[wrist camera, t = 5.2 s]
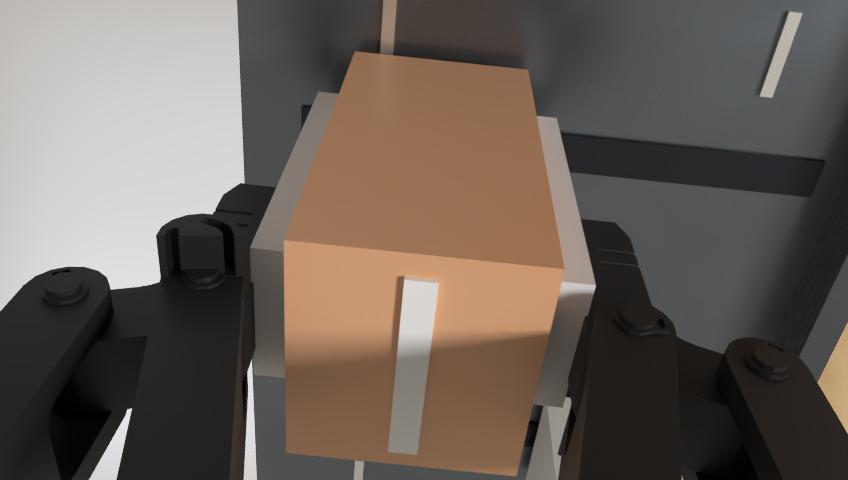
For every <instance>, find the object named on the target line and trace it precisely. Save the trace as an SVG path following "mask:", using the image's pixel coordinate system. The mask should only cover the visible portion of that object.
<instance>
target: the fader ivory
mask: <svg viewBox="0 0 848 480" xmlns="http://www.w3.org/2000/svg"><path fill="white" fill-rule="evenodd" d="M570 407H571V398H568V397H565V401H564V405H563V408H560V407H551V406H543V410H542V414H541V418H540V423H539V427H538V431H537V435H536V439H535V443H534V447H533V451H532V455H531V459H530V463H529V467H528V472H527V476H526V480H558V477H559V469H560V462H561V456H560V455H557V454H558V450H559V447H560V443H561V440H562V436H563V432H564V429H565V425H566V422H567V418H568V415H569V411H570ZM682 480H683V477H682Z"/></svg>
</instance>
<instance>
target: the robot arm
mask: <svg viewBox="0 0 848 480" xmlns="http://www.w3.org/2000/svg"><path fill="white" fill-rule="evenodd" d="M338 95H339V94H336V93H327V92H318V94H317V96H316V98H315V100H314V103H313V105H312V107H311V110H310V112H309V114H308V116H307V119H306V121H305V123H304V126H303V128H302V130H301V132H300V135H299V137H298V139H297V142H296V144H295V146H294V148H293V151H292V153H291V155H290V158H289V160H288V162H287V164H286V167H285V169H284V171H283V173H282V176H281V178H280V180H279V183H278V185H277V187H269V186H260V185H251V184H242V183H241V184H239V185H237V186H236V187H234V188H233V189H231V190H230V191H228V192H227V193H225V194H224V195H223V197H222V198H221V200H220V202H219V204H218V206H217V208H216V211H215V212H214V213H213V215H210V214H195V215H186V216H183V217H180V218H177V219H174V220H171V221H170V222H168V223H167V224H165V225H164V226H162V227H161V229H160V230H159V232H158V233H157V235H156V237H157V246H158V255H159V264H160V273H161V280H160V282H159V283H156V284H152V285H148V286H142V287H135V288H125V289H116V290H110V286H109V283H108V280H107V278H106V277H105V276H104V275H103V274H101V273H100V272H99V271H96V270H92V269H89V268H85V267H65V268H58V269H54V270H50V271H47V272H45V273H43V274H40V275H38V276H35V277H34V278H33V279H32V280H30V281H29V282H28V283H26V284H25V285H24V286H23V287H22V288H21V289H20V290H19V291H18V292H17V294H16V295H15V296H14V297H13V298H12V299H11V300H10V301H9V303H8V304H7V305H6V306H5V307H4V308H3V309H2V310H1V311H0V480H89V478H90V477H91V474H92V473H93V471H94V470H95V468H96V466H97V464H98V462H99V461H100V459H101V457H102V455H103V454H104V452H105V450H106V448H107V447H108V445H109V443H110V441H111V440H112V437H113V436H114V434H115V432H116V431H117V429H118V427H119V425H120V424H121V422H122V420H123V418H124V417H125V415H126V411H127V409H130V408H132V412H131V416H130V421H129V426H128V430H127V435H126V440H125V444H124V449H123V453H122V458H121V463H120V467H119V471H118V476H117V480H243V478H244V458H245V438H246V419H247V399H248V382H247V371H248V368H249V365H250V362H251V360H252V357H253V359H254V375H260V376H270V377H279V378H285V323H284V238H285V235H286V233H287V230H288V227H289V225H290V222H291V219H292V217H293V214H294V211H295V209H296V206H297V203H298V201H299V198H300V195H301V193H302V190H303V187H304V185H305V182H306V179H307V177H308V174H309V172H310V169H311V166H312V164H313V161H314V158H315V156H316V153H317V150H318V148H319V145H320V142H321V140H322V137H323V134H324V132H325V129H326V126H327V124H328V121H329V119H330V116H331V113H332V111H333V108H334V105H335V103H336V100H337V97H338ZM537 120H538V125H539V131H540V136H541V142H542V147H543V153H544V158H545V164H546V169H547V175H548V180H549V186H550V191H551V197H552V202H553V208H554V213H555V218H556V224H557V229H558V235H559V240H560V246H561V251H562V257H563V262H564V268H565V271H564V275H563V279H562V283H561V288H560V292H559V296H558V300H557V305H556V309H555V313H554V318H553V322H552V326H551V330H550V335H549V339H548V343H547V347H546V352H545V356H544V360H543V364H542V369H541V373H540V377H539V382H538V386H537V390H536V394H535V399H534V403H533V405H541V406H551V407H560V408H563V405H564V401H565V397H566V394H567V390H568V386H569V391H570V397H571V407H570V411H569V415H568V418H567V422H566V425H565V429H564V432H563V436H562V440H561V443H560V447H559V450H558V454H557V455H560V456H561V462H560V469H559V477H558V480H682V477H683V480H848V434H847V432H846V430H845V429H844V427H843V425H842V424H841V422H840V420H839V419H838V417H837V415H836V413H835V412H834V410H833V408H832V407H831V405H830V403H829V402H828V400H827V398H826V397H825V395H824V393H823V392H822V390H821V388H820V387H819V385H818V383H817V382H816V380H815V378H814V376H813V375H812V373H811V371H810V370H809V368H808V367H807V366H806V364H805V363H804V362H803V361H802V360H801V359H800V357H798V356H797V355H796V354H794V353H793V352H791V351H790V350H788V349H787V348H786V347H783V346H781V345H779V344H776V343H774V342H772V341H769V340H764V339H759V338H754V337H749V338H738V339H736V340H734V341H732V342H730V343H729V345H728V346H727V348H726V350H725V352H724V354H722V353H718V352H715V351H712V350H709V349H706V348H703V347H700V346H697V345H694V344H692V343H689V342H687V341H684V340H682V339H681V338H679V337H677V335H676V330H675V327H674V324H673V322H672V321H671V320H670V319H669V318H668V317H667V316H666V315H665V314H664V313H663V312H661V311H660V310H658V309H656V308H655V307H653V306H652V304H651V301H650V298H649V295H648V292H647V288H646V285H645V282H644V279H643V276H642V273H641V270H640V268H639V264H638V261H637V258H636V256H635V252H634V249H633V246H632V243H631V239H630V237H629V236H628V235H627V234H626V233H625V232H624V231H623V230H622V229H621V228H620V227H619V226H618V225H617V224H616V223H615V222H606V221H597V220H587V219H580V215H579V211H578V206H577V202H576V198H575V194H574V189H573V185H572V181H571V177H570V172H569V168H568V164H567V160H566V155H565V151H564V147H563V142H562V138H561V134H560V130H559V125H558V121H557V118H552V117H543V116H537Z"/></svg>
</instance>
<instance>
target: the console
mask: <svg viewBox="0 0 848 480" xmlns="http://www.w3.org/2000/svg"><path fill="white" fill-rule="evenodd" d="M237 6H238V30H239V51H240V52H239V54H240V78H241V102H242V126H243V149H244V175H245V184H251V185H260V186H269V187H277V185H278V183H279V180H280V178H281V176H282V173H283V171H284V169H285V167H286V164H287V162H288V160H289V158H290V155H291V153H292V151H293V148H294V146H295V144H296V142H297V139H298V137H299V135H300V132H301V130H302V128H303V126H304V123H305V121H306V119H307V116H308V114H309V112H310V110H311V107H312V105H313V103H314V100H315V98H316V96H317V94H318V92H327V93H336V94H339V92H340V89H341V87H342V84H343V81H344V79H345V76H346V73H347V71H348V68H349V66H350V63H351V60H352V58H353V55H354V52H355V51H356V52H366V53H375V54H385V55H394V56H403V57H413V58H422V59H432V60H441V61H451V62H460V63H470V64H479V65H489V66H498V67H508V68H517V69H527V70H528V71H529V76H530V82H531V87H532V93H533V98H534V104H535V109H536V115H537V116H543V117H552V118H557V121H558V125H559V130H560V134H561V138H562V142H563V147H564V151H565V155H566V160H567V164H568V168H569V172H570V177H571V181H572V185H573V189H574V194H575V198H576V202H577V206H578V211H579V215H580V219H587V220H597V221H606V222H615V223H616V224H617V225H618V226H619V227H620V228H621V229H622V230H623V231H624V232H625V233H626V234H627V235H628V236H629V237H630V239H631V243H632V246H633V249H634V252H635V256H636V258H637V261H638V264H639V268H640V270H641V273H642V276H643V279H644V282H645V285H646V288H647V292H648V295H649V298H650V301H651V304H652V306H653V307H655V308H656V309H658V310H660V311H661V312H663V313H664V314H665V315H666V316H667V317H668V318H669V319H670V320H671V321H672V322H673V324H674V327H675V330H676V335H677V337H679V338H681V339H682V340H684V341H687V342H689V343H692V344H694V345H697V346H700V347H703V348H706V349H709V350H712V351H715V352H718V353H722V354H724V352H725V350H726V348H727V346H728V345H729V343H730V342H732V341H734V340H736V339H738V338H749V337H754V338H759V339H764V340H769V341H772V342H774V343H776V344H779V345H781V346H783V347H786V348H787V349H788V350H790V351H791V352H793V353H794V354H796V355H797V356H798V357H800V359H801V360H802V361H803V362H804V363H805V364H806V366H807V367H808V368H809V370H810V371H811V373H812V375H813V376H814V378H815V380H816V382H818V380H819V378H820V376H821V374H822V372H823V370H824V368H825V366H826V364H827V362H828V360H829V358H830V356H831V354H832V352H833V350H834V348H835V346H836V344H837V342H838V340H839V338H840V336H841V334H842V332H843V330H844V328H845V326H846V324H847V322H848V0H237ZM252 365H253V366H252V367H253V390H254V414H255V438H256V464H257V480H526V476H527V472H528V467H529V463H530V459H531V455H532V451H533V447H534V443H535V439H536V435H537V431H538V427H539V423H540V418H541V414H542V410H543V406H541V405H533V407H532V411H531V416H530V420H529V424H528V429H527V433H526V437H525V441H524V446H523V450H522V454H521V458H520V463H519V467H518V471H517V476H507V475H497V474H487V473H477V472H467V471H457V470H448V469H438V468H428V467H418V466H408V465H398V464H389V463H379V462H369V461H359V460H349V459H339V458H330V457H320V456H310V455H300V454H290V453H286V418H285V378H279V377H270V376H260V375H254V359H253V357H252ZM566 397H568V398H571V397H570V391H569V386H568V390H567V394H566Z"/></svg>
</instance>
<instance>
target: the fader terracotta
mask: <svg viewBox="0 0 848 480" xmlns="http://www.w3.org/2000/svg"><path fill="white" fill-rule="evenodd" d="M564 271H565V268H564V262H563V257H562V251H561V246H560V240H559V235H558V229H557V224H556V218H555V213H554V208H553V202H552V197H551V191H550V186H549V180H548V175H547V169H546V164H545V158H544V153H543V147H542V142H541V136H540V131H539V125H538V120H537V115H536V109H535V104H534V98H533V93H532V87H531V82H530V76H529V71H528V70H527V69H517V68H508V67H498V66H489V65H479V64H470V63H460V62H451V61H441V60H432V59H422V58H413V57H403V56H394V55H385V54H375V53H366V52H356V51H355V52H354V55H353V58H352V60H351V63H350V66H349V68H348V71H347V73H346V76H345V79H344V81H343V84H342V87H341V89H340V92H339V95H338V97H337V100H336V103H335V105H334V108H333V111H332V113H331V116H330V119H329V121H328V124H327V126H326V129H325V132H324V134H323V137H322V140H321V142H320V145H319V148H318V150H317V153H316V156H315V158H314V161H313V164H312V166H311V169H310V172H309V174H308V177H307V179H306V182H305V185H304V187H303V190H302V193H301V195H300V198H299V201H298V203H297V206H296V209H295V211H294V214H293V217H292V219H291V222H290V225H289V227H288V230H287V233H286V235H285V238H284V323H285V418H286V453H290V454H300V455H310V456H320V457H330V458H339V459H349V460H359V461H369V462H379V463H389V464H398V465H408V466H418V467H428V468H438V469H448V470H457V471H467V472H477V473H487V474H497V475H507V476H517V471H518V467H519V463H520V458H521V454H522V450H523V446H524V441H525V437H526V433H527V429H528V424H529V420H530V416H531V411H532V407H533V403H534V399H535V394H536V390H537V386H538V382H539V377H540V373H541V369H542V364H543V360H544V356H545V352H546V347H547V343H548V339H549V335H550V330H551V326H552V322H553V318H554V313H555V309H556V305H557V300H558V296H559V292H560V288H561V283H562V279H563V275H564Z"/></svg>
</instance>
